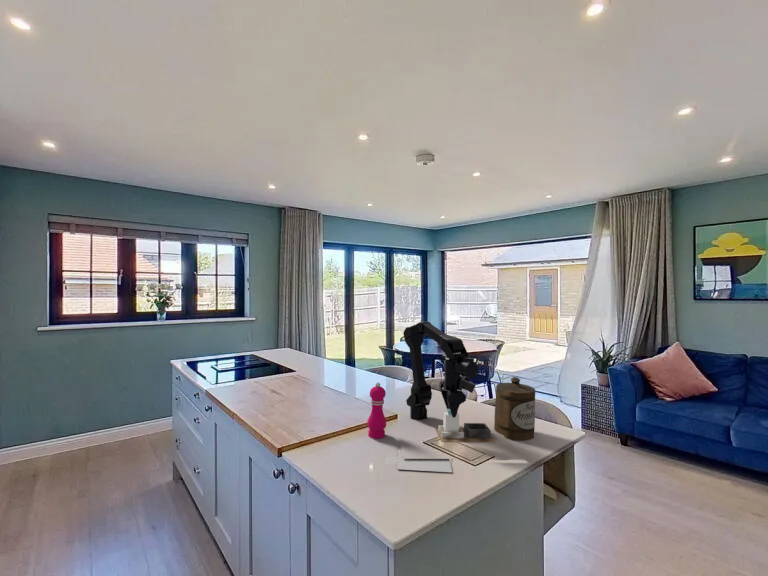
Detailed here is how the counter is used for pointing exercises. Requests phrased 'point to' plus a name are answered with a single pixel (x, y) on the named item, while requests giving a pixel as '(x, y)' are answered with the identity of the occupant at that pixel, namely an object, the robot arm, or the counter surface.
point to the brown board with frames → (466, 433)
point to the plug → (450, 422)
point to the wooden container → (515, 410)
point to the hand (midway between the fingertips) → (451, 413)
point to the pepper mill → (377, 413)
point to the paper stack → (420, 463)
